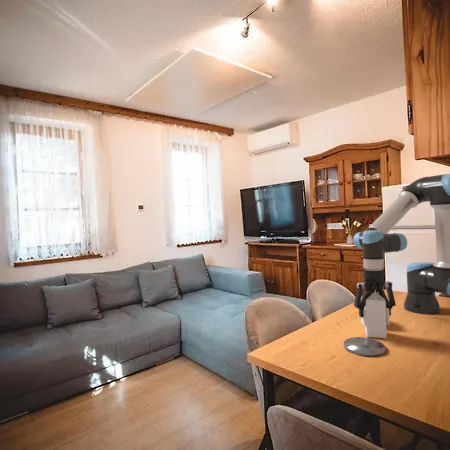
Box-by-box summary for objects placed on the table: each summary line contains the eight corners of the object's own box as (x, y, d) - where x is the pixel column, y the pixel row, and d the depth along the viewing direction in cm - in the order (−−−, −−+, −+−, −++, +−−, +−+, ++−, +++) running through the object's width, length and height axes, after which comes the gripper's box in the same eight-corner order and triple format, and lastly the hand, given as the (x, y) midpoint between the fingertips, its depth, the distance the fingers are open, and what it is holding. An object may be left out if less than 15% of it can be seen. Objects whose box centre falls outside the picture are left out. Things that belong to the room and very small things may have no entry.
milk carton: (384, 332, 129) (382, 286, 129) (386, 339, 123) (385, 291, 122) (365, 330, 132) (363, 286, 131) (367, 337, 125) (365, 290, 124)
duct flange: (373, 339, 123) (373, 336, 123) (393, 355, 109) (393, 351, 109) (338, 341, 123) (338, 338, 123) (353, 357, 109) (353, 354, 109)
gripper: (394, 265, 130) (396, 319, 131) (343, 268, 130) (345, 322, 131) (405, 269, 123) (406, 325, 124) (351, 272, 122) (353, 329, 123)
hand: (375, 324), depth 127 cm, fingers closed on milk carton, 9 cm apart
